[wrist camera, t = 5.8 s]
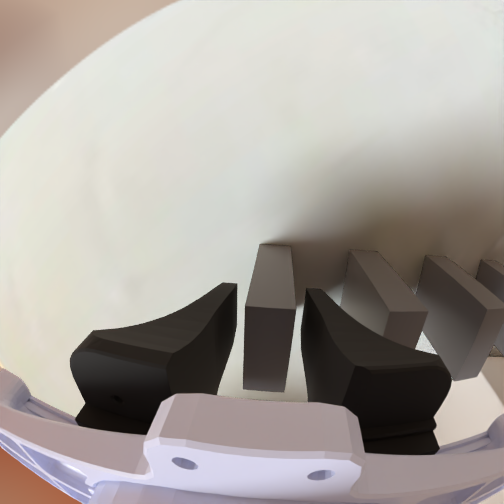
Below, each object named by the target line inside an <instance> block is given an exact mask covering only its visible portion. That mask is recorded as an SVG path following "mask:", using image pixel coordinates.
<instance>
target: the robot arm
mask: <svg viewBox="0 0 504 504" xmlns="http://www.w3.org/2000/svg"><path fill="white" fill-rule="evenodd" d="M236 327H237V284H235V283H221V284H220V285H218V286H217V287H215V288H214V289H213V290H211V291H210V292H208V293H207V294H205V295H204V296H202V297H201V298H199V299H198V300H196V301H194V302H193V303H191V304H189V305H188V306H186V307H184V308H182V309H180V310H178V311H176V312H174V313H172V314H169V315H167V316H165V317H162V318H159V319H156V320H153V321H149V322H146V323H143V324H138V325H134V326H129V327H124V328H117V329H106V330H93V331H92V332H91V333H90V334H89V335H88V337H87V338H86V339H85V340H84V341H83V342H82V343H81V344H80V345H79V346H78V347H77V349H76V350H75V351H74V352H73V353H72V355H71V358H70V368H71V371H72V374H73V377H74V380H75V382H76V384H77V386H78V388H79V390H80V393H81V395H82V397H83V399H84V401H85V405H84V406H83V408H82V409H81V411H80V412H79V414H78V415H77V417H74V416H72V415H69V414H67V413H65V412H63V411H61V410H59V409H57V408H55V407H52V406H50V405H48V404H47V403H45V402H43V401H41V400H39V399H37V398H35V397H33V396H31V393H30V391H29V389H28V387H27V386H26V384H25V383H24V381H23V380H22V379H21V378H19V377H18V376H16V375H14V374H13V373H11V372H9V371H8V370H6V369H2V370H1V371H0V446H1V447H2V448H3V449H4V450H5V451H7V452H8V453H9V454H10V455H12V456H13V457H14V458H15V459H17V460H18V461H19V462H21V463H22V464H23V465H25V466H26V467H27V468H29V469H30V470H31V471H33V472H34V473H36V474H37V475H38V476H40V477H42V478H43V479H44V480H46V481H47V482H49V483H50V484H52V485H53V486H55V487H56V488H58V489H60V490H61V491H63V492H64V493H66V494H68V495H69V496H71V497H73V498H74V499H76V500H78V501H80V502H81V503H82V504H478V503H480V502H482V501H484V500H485V499H487V498H489V497H491V496H493V495H495V494H496V493H498V492H500V491H502V490H503V489H504V414H502V415H500V416H499V417H497V418H496V419H495V420H494V421H493V423H492V424H491V425H490V427H489V428H488V430H487V431H486V432H483V433H480V434H477V435H475V436H472V437H469V438H466V439H463V440H459V441H456V442H453V443H449V444H446V445H442V446H439V445H438V442H437V439H436V437H435V434H434V432H433V430H435V429H436V427H437V424H436V421H435V419H434V416H435V414H436V413H437V411H438V410H439V408H440V407H441V405H442V404H443V402H444V400H445V399H446V397H447V395H448V393H449V390H450V388H451V383H452V378H451V374H450V372H449V370H448V369H447V367H446V365H445V364H444V362H443V361H442V359H441V357H440V356H439V355H436V354H432V353H427V352H423V351H419V350H415V349H412V348H409V347H406V346H404V345H401V344H398V343H396V342H393V341H391V340H389V339H387V338H385V337H383V336H381V335H379V334H377V333H375V332H373V331H372V330H370V329H368V328H367V327H365V326H364V325H362V324H361V323H359V322H358V321H356V320H355V319H354V318H353V317H351V316H350V315H349V314H348V313H346V312H345V311H344V310H343V309H342V308H341V307H340V306H338V305H337V304H336V303H335V302H334V301H333V300H332V299H331V298H330V297H329V296H328V295H327V294H326V293H325V292H324V291H323V290H321V289H310V288H306V295H305V303H304V310H303V317H302V324H301V351H302V358H303V365H304V371H305V378H306V385H307V393H308V402H283V401H267V400H254V399H243V398H234V397H225V396H218V395H217V391H218V388H219V384H220V381H221V378H222V375H223V372H224V370H225V367H226V364H227V361H228V358H229V355H230V352H231V349H232V346H233V343H234V337H235V332H236Z"/></svg>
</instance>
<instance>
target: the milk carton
mask: <svg viewBox="0 0 504 504" xmlns="http://www.w3.org/2000/svg"><path fill="white" fill-rule="evenodd" d="M502 414H504V357H487V359H486V361H485V363H484V365H483V367H482V369H481V371H480V372H479V374H478V376H477V377H475V378H470V379H465V380H460V381H455V382H454V380H453V381H452V383H451V388H450V390H449V393H448V395H447V397H446V399H445V400H444V402H443V404H442V405H441V407H440V408H439V410H438V411H437V413H436V414H435V416H434V419H435V421H436V424H437V427H436V429H435V430H433V432H434V434H435V437H436V439H437V442H438V445H439V446H442V445H446V444H449V443H453V442H456V441H459V440H463V439H466V438H469V437H472V436H475V435H477V434H480V433H483V432H486V431H487V430H488V428H489V427H490V425H491V424H492V423H493V421H494V420H495V419H496V418H497V417H499V416H500V415H502ZM478 504H504V489H503V490H502V491H500V492H498V493H496V494H495V495H493V496H491V497H489V498H487V499H485V500H484V501H482V502H480V503H478Z"/></svg>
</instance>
